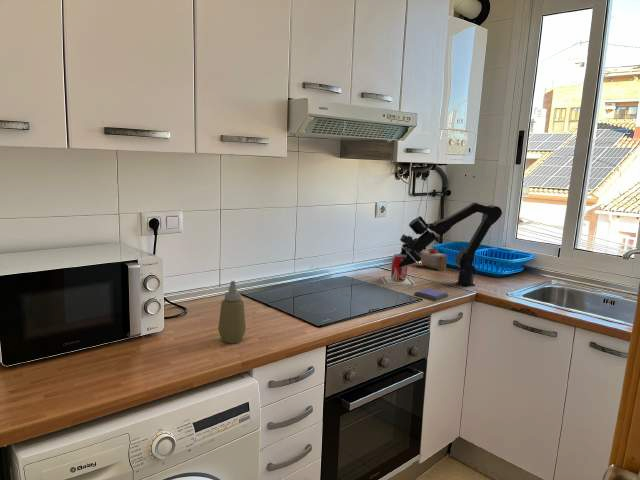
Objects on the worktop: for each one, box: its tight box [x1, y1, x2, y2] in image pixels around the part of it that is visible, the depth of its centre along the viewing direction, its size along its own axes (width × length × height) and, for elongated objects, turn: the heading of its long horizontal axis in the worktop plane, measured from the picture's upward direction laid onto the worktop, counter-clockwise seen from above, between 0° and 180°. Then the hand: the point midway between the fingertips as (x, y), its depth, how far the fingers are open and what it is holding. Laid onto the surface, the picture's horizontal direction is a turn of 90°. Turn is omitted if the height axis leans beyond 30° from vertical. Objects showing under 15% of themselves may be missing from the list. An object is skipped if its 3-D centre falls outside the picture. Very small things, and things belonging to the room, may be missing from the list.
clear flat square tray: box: [380, 275, 417, 287], centre depth 218 cm, size 14×14×1 cm
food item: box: [420, 249, 448, 271], centre depth 251 cm, size 14×8×10 cm, turn 37°
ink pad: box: [414, 287, 449, 302], centre depth 197 cm, size 10×10×2 cm
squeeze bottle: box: [217, 280, 247, 344], centre depth 138 cm, size 8×8×18 cm
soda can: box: [390, 253, 408, 282], centre depth 217 cm, size 7×7×12 cm
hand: (397, 264), depth 217 cm, fingers open, 9 cm apart
